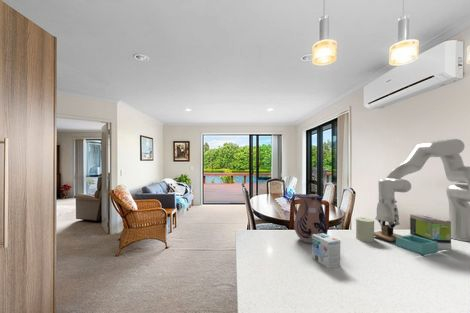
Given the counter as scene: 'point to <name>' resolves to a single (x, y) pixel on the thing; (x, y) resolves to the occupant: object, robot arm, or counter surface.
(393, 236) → the lid
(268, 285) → the counter surface
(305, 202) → the ceramic pitcher
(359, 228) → the can
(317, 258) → the light bulb box
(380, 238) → the mat
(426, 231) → the tea box
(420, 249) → the dish
